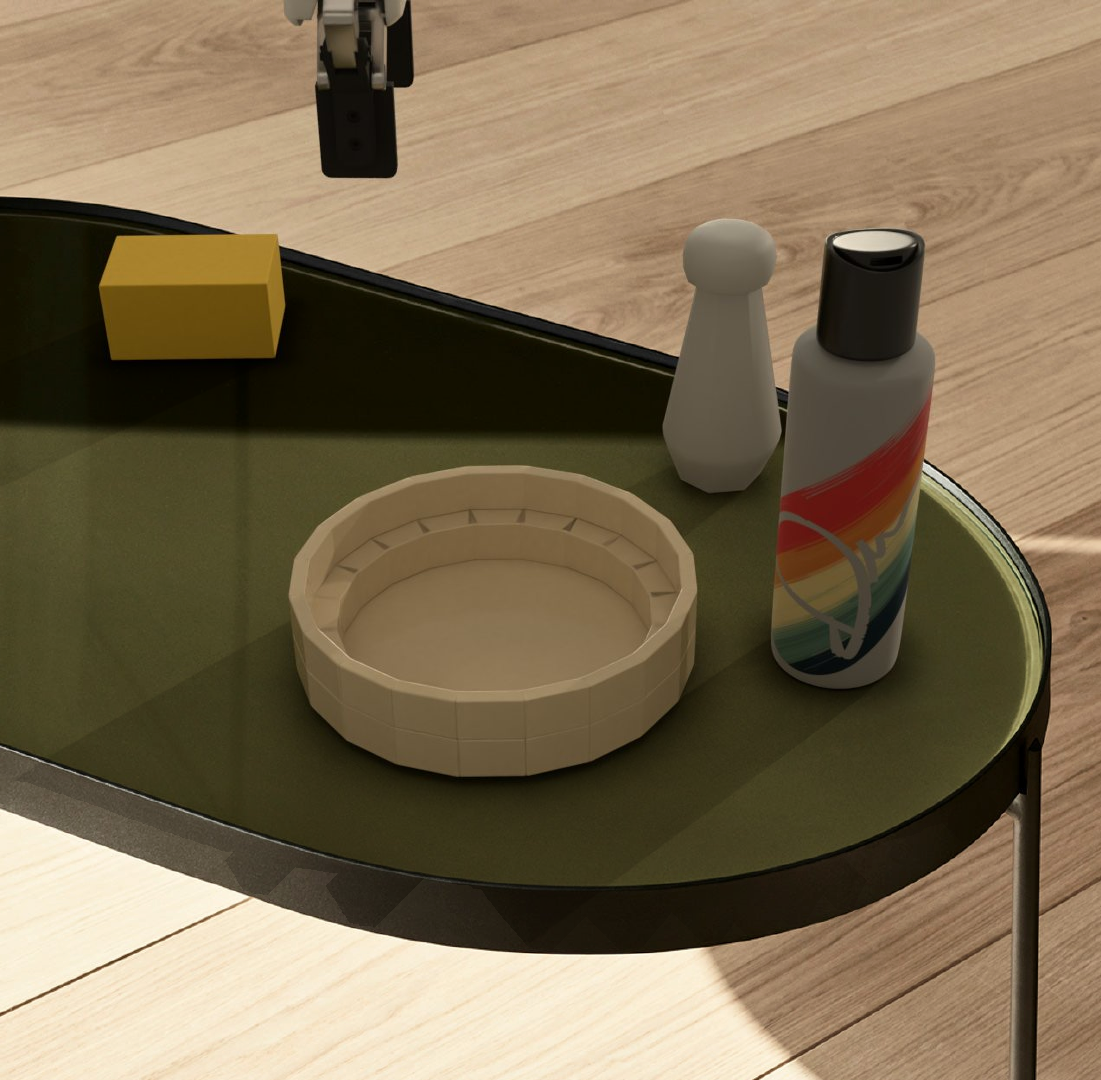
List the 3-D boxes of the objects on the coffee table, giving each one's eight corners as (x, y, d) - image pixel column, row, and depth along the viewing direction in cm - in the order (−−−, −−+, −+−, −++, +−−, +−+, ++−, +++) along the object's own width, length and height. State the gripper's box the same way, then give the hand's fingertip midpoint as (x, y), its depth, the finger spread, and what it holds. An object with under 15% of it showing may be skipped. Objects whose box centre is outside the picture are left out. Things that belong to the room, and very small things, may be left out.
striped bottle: (787, 698, 86) (822, 274, 73) (756, 621, 90) (784, 208, 78) (914, 684, 87) (971, 262, 74) (877, 608, 91) (925, 196, 78)
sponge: (111, 360, 109) (98, 286, 106) (128, 308, 114) (116, 235, 111) (275, 358, 109) (266, 283, 106) (285, 306, 114) (277, 233, 111)
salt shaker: (748, 431, 103) (762, 195, 95) (797, 488, 99) (816, 246, 90) (643, 454, 101) (648, 215, 93) (688, 512, 97) (698, 268, 89)
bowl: (281, 789, 82) (270, 704, 79) (316, 547, 95) (308, 467, 92) (705, 783, 82) (709, 698, 79) (680, 543, 95) (683, 462, 92)
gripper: (275, -345, 84) (307, 54, 95) (215, -236, 71) (260, 214, 82) (452, -345, 84) (464, 55, 95) (425, -235, 71) (443, 215, 82)
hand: (370, 128), depth 88 cm, fingers open, 9 cm apart
